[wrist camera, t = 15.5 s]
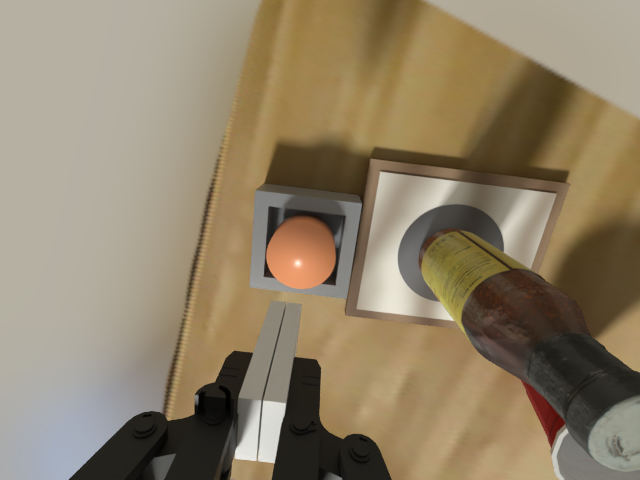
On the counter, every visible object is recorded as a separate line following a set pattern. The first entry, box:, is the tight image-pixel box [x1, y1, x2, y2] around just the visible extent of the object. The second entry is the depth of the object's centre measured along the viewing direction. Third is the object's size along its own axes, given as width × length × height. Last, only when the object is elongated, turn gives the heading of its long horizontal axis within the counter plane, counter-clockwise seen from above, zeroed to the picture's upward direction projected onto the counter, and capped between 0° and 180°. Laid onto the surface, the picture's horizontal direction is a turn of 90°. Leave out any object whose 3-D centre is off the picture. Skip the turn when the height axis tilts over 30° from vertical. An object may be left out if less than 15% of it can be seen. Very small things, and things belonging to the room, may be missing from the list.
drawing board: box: [345, 158, 570, 329], centre depth 32 cm, size 18×16×1 cm
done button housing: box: [250, 183, 362, 299], centre depth 31 cm, size 9×9×4 cm
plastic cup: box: [521, 380, 640, 480], centre depth 31 cm, size 11×11×12 cm
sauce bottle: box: [418, 228, 640, 471], centre depth 22 cm, size 6×6×20 cm
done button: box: [266, 214, 336, 289], centre depth 28 cm, size 6×6×4 cm
